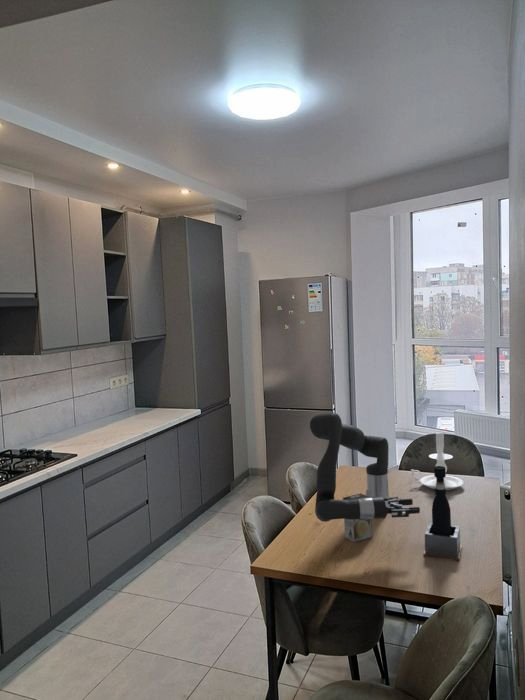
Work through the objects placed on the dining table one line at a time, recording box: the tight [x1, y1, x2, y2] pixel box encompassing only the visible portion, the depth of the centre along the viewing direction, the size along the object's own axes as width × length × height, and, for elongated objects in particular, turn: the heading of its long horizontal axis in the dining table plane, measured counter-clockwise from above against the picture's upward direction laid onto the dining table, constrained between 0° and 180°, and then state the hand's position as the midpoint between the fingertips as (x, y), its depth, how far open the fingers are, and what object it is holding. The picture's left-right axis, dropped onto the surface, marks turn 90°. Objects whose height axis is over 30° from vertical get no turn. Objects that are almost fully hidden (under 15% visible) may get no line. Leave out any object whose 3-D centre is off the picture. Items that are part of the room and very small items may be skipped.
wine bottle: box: [431, 466, 452, 536], centre depth 193 cm, size 6×6×30 cm
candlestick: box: [410, 432, 465, 491], centre depth 264 cm, size 21×25×28 cm
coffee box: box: [342, 493, 374, 543], centre depth 210 cm, size 9×6×16 cm
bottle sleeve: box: [422, 522, 463, 562], centre depth 194 cm, size 12×12×8 cm
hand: (415, 505), depth 193 cm, fingers open, 8 cm apart
